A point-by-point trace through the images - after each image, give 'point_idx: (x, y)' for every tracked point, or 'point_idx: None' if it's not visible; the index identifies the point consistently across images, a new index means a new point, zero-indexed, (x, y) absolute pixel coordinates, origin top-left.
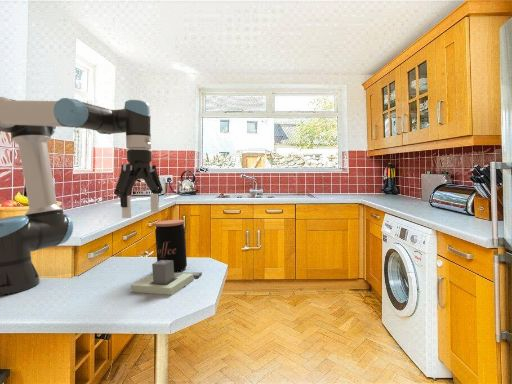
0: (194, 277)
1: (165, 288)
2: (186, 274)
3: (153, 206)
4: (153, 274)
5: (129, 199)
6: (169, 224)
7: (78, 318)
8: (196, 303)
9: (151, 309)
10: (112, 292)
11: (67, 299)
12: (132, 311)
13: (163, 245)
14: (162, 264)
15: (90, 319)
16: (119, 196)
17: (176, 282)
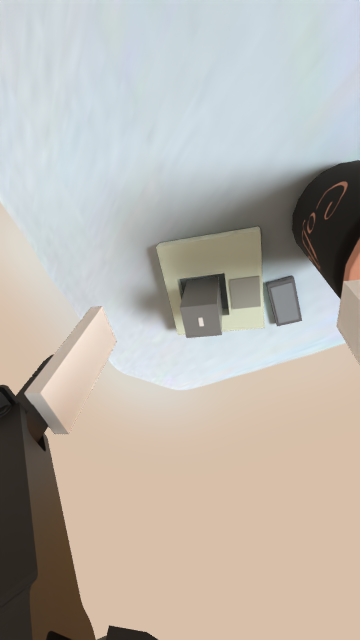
0: (274, 316)
1: (175, 324)
2: (256, 316)
3: (356, 326)
4: (183, 296)
5: (70, 417)
6: None
7: (44, 255)
8: (170, 374)
9: (126, 333)
10: (136, 200)
11: (55, 123)
12: (107, 314)
13: (313, 252)
14: (185, 332)
15: (56, 277)
16: (5, 397)
17: None
